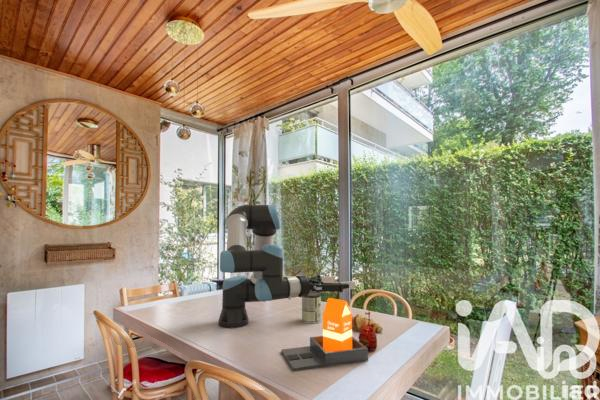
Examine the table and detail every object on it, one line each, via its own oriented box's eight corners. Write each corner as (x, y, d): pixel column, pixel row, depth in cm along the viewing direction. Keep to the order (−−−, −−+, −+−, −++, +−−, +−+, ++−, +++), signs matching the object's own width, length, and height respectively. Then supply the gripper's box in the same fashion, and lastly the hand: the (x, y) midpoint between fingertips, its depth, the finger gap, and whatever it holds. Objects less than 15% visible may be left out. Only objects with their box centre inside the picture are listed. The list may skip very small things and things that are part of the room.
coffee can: (302, 317, 168) (302, 291, 170) (321, 318, 167) (321, 291, 169) (300, 323, 158) (300, 295, 159) (320, 324, 157) (320, 295, 158)
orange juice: (333, 346, 125) (333, 296, 127) (352, 351, 120) (352, 299, 121) (322, 352, 119) (322, 299, 121) (342, 358, 114) (341, 302, 115)
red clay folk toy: (355, 348, 125) (355, 310, 127) (364, 343, 131) (363, 307, 132) (372, 353, 121) (371, 314, 122) (380, 348, 126) (379, 310, 127)
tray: (293, 371, 105) (293, 357, 106) (281, 352, 122) (281, 340, 122) (368, 360, 114) (367, 348, 114) (347, 344, 130) (347, 333, 130)
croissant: (384, 338, 146) (386, 321, 150) (378, 334, 139) (381, 316, 143) (343, 329, 158) (346, 314, 161) (336, 325, 150) (339, 308, 154)
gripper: (282, 290, 124) (327, 286, 134) (313, 304, 102) (363, 298, 112) (283, 271, 125) (327, 268, 135) (313, 281, 103) (363, 277, 113)
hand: (343, 281), depth 123 cm, fingers open, 13 cm apart
